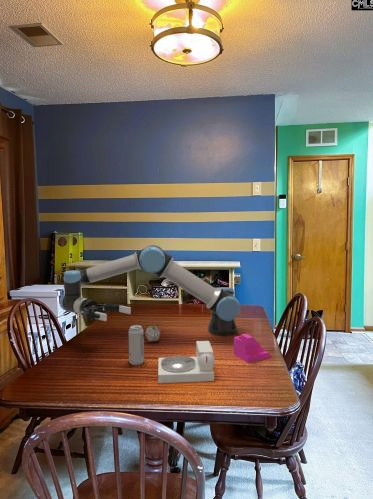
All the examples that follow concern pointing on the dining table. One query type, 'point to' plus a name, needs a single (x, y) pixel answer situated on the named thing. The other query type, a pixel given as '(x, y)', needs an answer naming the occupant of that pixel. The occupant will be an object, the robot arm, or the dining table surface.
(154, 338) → the grey rounded lump
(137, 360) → the energy drink can
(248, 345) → the bracket
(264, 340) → the dining table surface
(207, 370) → the scale
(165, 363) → the scale pan
